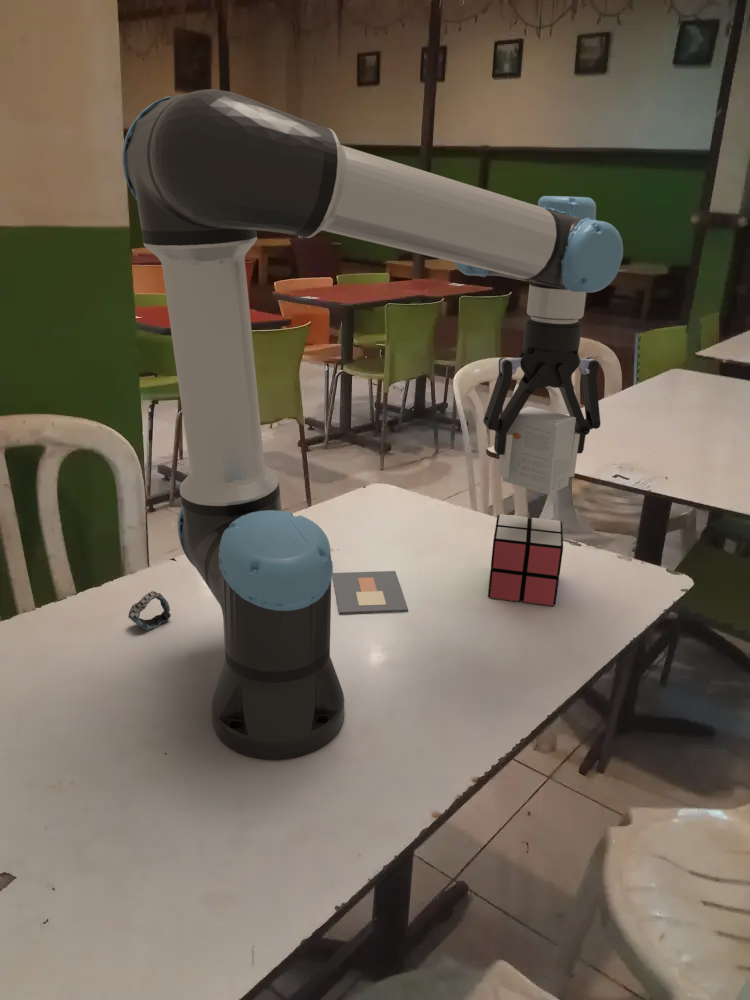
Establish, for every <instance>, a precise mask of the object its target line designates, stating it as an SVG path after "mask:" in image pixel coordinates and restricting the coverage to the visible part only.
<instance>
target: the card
mask: <svg viewBox="0 0 750 1000" xmlns="http://www.w3.org/2000/svg"><path fill="white" fill-rule="evenodd" d="M332 581H333V588H334V592H335V598H336V603H337V608H338V615H361V614H363V615H364V614H384V613H385V614H388V613H409V607H408V605H407V602H406V598H405V595H404V592H403V590H402V587H401V584H400V581H399V577H398V575H397V572H396V570H384V571H383V570H382V571H380V570H379V571H355V572H354V571H350V572H349V571H347V572H346V571H345V572H333V574H332Z"/></svg>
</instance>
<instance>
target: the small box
mask: <svg viewBox="0 0 750 1000" xmlns="http://www.w3.org/2000/svg"><path fill="white" fill-rule="evenodd" d="M575 423H576V417H572V416H570V415H569V414H567V415H566V414H563V413H558V412H554V411H550V410H546V409H542V408H537V407H532V406H528V407H524V408H522V409H521V411H520V413H519V414H518V416H517V417H516V419H515V421H514V422H513V424H512V425H511V427H510V429H509V430H508V431H509V432H510V433H511V434H512V435H513V438H512V447H511V457H510V467H509V476H508V478H503V477H502V481H503V482H505V483H508V484H512V485H515V486H518V487H521V488H524V489H528V490H531V491H534V492H538V493H540V494H543V495H547V496H549V495H551V494H553V493H556V492H557V491H559V490H561V489H563V488H565V487H568V486H569V480H570V477H569V474H570V466H571V457H572V448H573V440H574V432H575Z"/></svg>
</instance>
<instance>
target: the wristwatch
mask: <svg viewBox="0 0 750 1000" xmlns="http://www.w3.org/2000/svg"><path fill="white" fill-rule="evenodd" d="M154 599H157V600H158V601H160V606H161V607H162V609H163V611H162V612H161V613H160V614H157V615H154V617H152V618H150V619H149V618H148V619H142V618H140V615H141V612H142V611H143V610H145V609H146V608H147V606H148V604H149V603H150V602H151V601H153V600H154ZM170 611H171V607H170V605H169V603H168V600H167V599H166V598H165V597H164V596H163V595H162V594H161V593H160V592H159V593H158V592H156V591H155V590H150V592H148V593H146V594H145V595H144V596H142V597H141V599H140V600H139V601H138V602H136V603H134V604H132V606H131V607H130V610H129V612H128V619H130V620H131V621H132V622H133V623H135V624H136V625H137V626H139V627H140V628H142V629H144V630H145V631H146V632H147V631H150V630H152V629H153V630H154V629H156V628H157V627H160V626H161V624H162V623H165V622H167V621H169V619H170V618H171V617H172V614H171V612H170Z"/></svg>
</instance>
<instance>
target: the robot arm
mask: <svg viewBox="0 0 750 1000" xmlns="http://www.w3.org/2000/svg"><path fill="white" fill-rule="evenodd" d="M125 135H126V136H125V139H124V142H123V146H122V151H121V152H122V153H121V154H122V156H121V157H122V160H121V162H122V169H123V173H124V178H125V180H126V183H127V187H128V188H129V189H130V193H131V194H132V195H133V198H134V199H135V200H136V203H137V210H138V216H139V222H140V224H139V225H140V229H141V237H142V242H143V247H144V248H146V249H147V250H149V252H151V253H152V254H153V255H154V256H155V257H156V258H158V259H159V262H160V263H161V267H162V268H161V269H162V275H163V277H162V278H163V282H164V283H163V284H164V290H165V297H166V305H167V313H168V319H169V325H170V326H169V327H170V332H171V333H170V334H171V339H172V340H171V341H172V348H173V356H174V362H175V369H176V376H177V383H178V390H179V397H180V406H181V413H182V419H183V427H184V433H185V441H186V442H185V443H186V449H187V455H188V463H189V464H188V465H189V470H190V473H189V474H188V475H187V477H186V478H185V479H184V480H183V481H182V482H180V483H181V484H180V485H179V494H180V502H181V506H180V509H179V511H178V512H179V513H178V517H177V532H178V533H177V534H178V539H179V543H180V545H181V549H182V551H183V553H184V555H185V557H186V558H187V560H188V561H189V563H190V564H191V565H192V566H193V567H194V568H195V569H196V571H197V573H198V574H199V576H200V577H201V579H202V580H203V581H204V582H205V584H206V586H207V588H208V589H209V591H210V592H211V593H212V595H213V597H214V598H215V600H216V602H217V603H218V604H219V606H220V609H221V612H222V617H223V618H222V619H223V620H222V621H223V640H224V644H223V645H224V656H225V657H224V662H223V667H222V669H221V672H220V674H219V678H218V681H217V684H216V688H215V690H214V693H213V696H212V700H211V720H212V727H213V731H214V733H215V734H216V736H217V738H218V739H219V740H220V741H221V742H222V743H223V744H224V745H225V746H226V747H228V748H229V749H232V750H233V751H235V752H238V753H239V754H242V755H245V756H248V757H252V758H256V759H257V758H258V759H263V760H264V759H267V760H282V759H290V758H295V757H299V756H303V755H306V754H309V753H312V752H314V751H316V750H318V749H320V748H322V747H323V746H325V745H326V744H328V743H329V742H330V741H332V740H333V738H335V736H337V735H338V733H339V731H340V730H341V728H342V726H343V723H344V721H345V696H344V695H345V694H344V691H343V688H342V685H341V682H340V680H339V678H338V675H337V672H336V669H335V667H334V664H333V661H332V658H331V617H332V615H331V611H332V581H333V576H332V574H333V573H334V569H333V568H334V564H333V563H334V562H333V560H332V554H331V544H330V541H329V538H328V536H327V535H326V533H325V531H323V529H322V528H321V527H320V526H319V525H318V524H317V523H315V522H314V521H313V520H311V519H310V518H307V517H306V516H303V515H297V516H294V514H293V513H292V512H289V511H283V510H282V502H281V501H282V500H281V499H282V498H281V490H280V480H279V479H280V478H279V476H278V475H277V473H276V472H275V471H273V470H272V469H271V468H269V467H268V466H266V464H265V457H264V446H263V435H262V426H261V416H260V415H261V414H260V404H259V395H258V384H257V373H256V364H255V353H254V352H255V351H254V341H253V331H252V323H251V322H252V321H251V312H250V300H249V291H248V290H249V289H248V282H247V281H248V280H247V270H246V260H245V258H246V255H247V253H248V252H249V250H250V249H251V248H252V247H253V246H254V245H255V243H256V242H257V241H258V234H257V231H264V232H275V233H280V234H288V235H291V236H296V237H301V238H304V239H305V238H306V239H308V238H309V239H311V238H313V237H314V236H315V235H317V234H318V233H320V232H321V231H324V232H328V233H332V234H337V235H339V236H344V237H349V238H353V239H357V240H361V241H365V242H371V243H373V244H378V245H383V246H385V247H391V248H394V249H399V250H402V251H403V250H404V251H407V252H411V253H416V254H420V255H422V256H423V255H424V256H428V257H432V258H437V259H440V260H444V261H449V262H454V265H455V266H456V268H457V270H458V271H459V272H460V273H462V274H463V275H466V276H474V277H475V276H476V277H481V278H485V277H487V276H489V277H490V276H491V277H492V276H494V277H495V276H497V277H503V278H508V279H513V280H519V281H523V282H529V287H528V298H527V305H526V306H527V307H526V314H527V315H528V316H530V317H528V318H527V319H526V320H525V325H524V332H523V333H524V334H523V343H522V351H521V353H520V355H519V357H516V358H515V357H514V358H506V357H504V356H502V357H500V358H499V360H498V376H497V379H496V381H495V384H494V387H493V391H492V393H491V397H490V399H489V402H488V404H487V405H488V406H487V408H486V411H485V415H484V417H483V421H482V423H483V424H484V426H485V427H487V429H488V430H490V431H494V432H495V433H494V434H495V435H494V443H493V450H494V453H496V455H499V459H498V468H497V472H498V474H499V475H500V476H501V477H502V479H503V478H508V476H509V467H510V457H511V447H512V438H513V435H512V434H511V433H510V432H509V431H508V430H509V429H510V427H511V425H512V424H513V422H514V421H515V419H516V417H517V416H518V414H519V413H520V411H521V409H524V408H523V407H525V405H526V404H527V401H528V400H529V398H530V396H531V395H533V394H534V392H535V391H536V390H537V388H538V389H541V388H542V389H543V388H547V387H551V388H555V389H556V388H558V389H559V391H560V394H561V396H562V399H563V401H564V404H565V407H566V409H567V411H568V416H572V417H576V423H575V432H574V440H573V448H572V457H571V466H570V474H569V478H575V474H576V473H575V472H576V465H577V459H578V454H582V453H583V452H584V449H585V442H586V437H587V436H588V435H589V433H590V432H591V430H593V429H595V430H596V429H599V428H600V427H601V416H600V415H601V414H600V413H601V412H600V404H599V403H600V402H599V394H598V383H597V382H598V381H597V376H598V373H599V370H600V369H599V368H600V362H598V361H597V360H596V359H594V358H592V357H586V358H583V357H582V358H580V356H579V348H580V344H581V336H582V335H581V334H582V328H583V327H582V326H583V324H582V322H581V321H580V319H583V317H584V313H585V306H586V297H587V293H596V292H599V291H602V290H603V289H605V288H606V287H608V286H609V285H610V284H611V283H612V282H613V281H614V280H615V278H616V277H617V274H618V273H619V271H620V266H621V264H622V261H623V257H624V245H623V243H624V242H623V239H622V237H621V234H620V232H619V230H617V228H616V227H615V226H614V225H613V224H612V223H609V222H607V221H604V220H597V204H596V201H594V199H593V198H591V197H588V196H586V197H585V196H567V195H566V196H564V195H561V196H560V195H543V196H541V197H540V198H539V199H538V201H537V205H536V204H532V203H529V202H527V201H523V200H519V199H516V198H513V197H510V196H506V195H503V194H501V193H496V192H493V191H491V190H488V189H484V188H482V187H478V186H476V185H475V186H474V185H471V184H468V183H466V182H465V183H464V182H462V181H459V180H455V179H452V178H448V177H446V176H442V175H439V174H435V173H432V172H429V171H426V170H423V169H420V168H416V167H413V166H411V165H410V166H409V165H407V164H403V163H399V162H397V161H394V160H391V159H387V158H383V157H381V156H377V155H374V154H371V153H367V152H364V151H362V150H358V149H355V148H352V147H349V146H345V145H343V144H341V143H340V140H339V138H338V135H337V134H336V132H335V131H334V129H331V128H329V127H326V126H323V125H320V124H317V123H314V122H311V121H308V120H305V119H303V118H300V117H298V116H295V115H293V114H291V113H288V112H285V111H282V110H281V109H278V108H275V107H272V106H269V105H266V104H265V103H262V102H259V101H257V100H255V99H252V98H249V97H247V96H244V95H241V94H239V93H235V92H232V91H227V90H223V89H222V90H221V89H215V88H210V89H199V90H194V91H191V92H187V93H185V94H179V95H172V96H166V97H163V98H161V99H158V100H156V101H154V102H152V103H150V104H149V105H148V106H147V107H145V108H144V109H143V110H141V112H140V113H139V114H138V115H137V117H135V119H134V120H133V122H132V124H131V125H130V126H129V128H128V130H127V133H126V134H125ZM518 368H521V370H522V372H523V375H522V376H521V379H520V380H519V383H518V386H517V387H516V390H515V391H514V393H513V394H512V396H511V397H510V399H509V401H508V403H507V404H506V406H505V408H504V409H503V407H504V403H505V401H506V398H507V395H508V392H509V389H510V387H511V385H512V384H511V383H512V381H513V380H512V379H513V376H514V375H515V374H516V372H517V370H518ZM577 369H579V373H581V383H582V384H581V385H582V394H583V404H584V414H585V416H584V414H583V411H582V409H581V405H580V403H579V401H578V398H577V394H576V393H575V390H574V389H575V388H574V384H573V382H572V379H571V376H572V375H573V374H574V373H575V372H576V370H577ZM502 410H503V411H502Z"/></svg>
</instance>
